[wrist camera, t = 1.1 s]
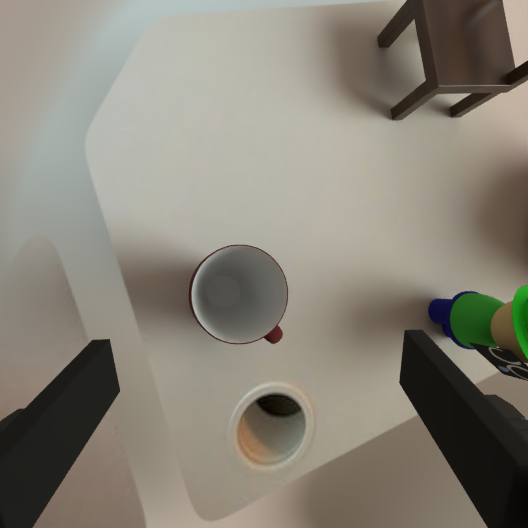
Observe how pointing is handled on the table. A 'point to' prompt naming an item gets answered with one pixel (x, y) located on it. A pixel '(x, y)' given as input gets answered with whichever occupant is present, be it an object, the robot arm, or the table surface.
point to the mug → (239, 295)
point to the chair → (457, 52)
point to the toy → (488, 327)
